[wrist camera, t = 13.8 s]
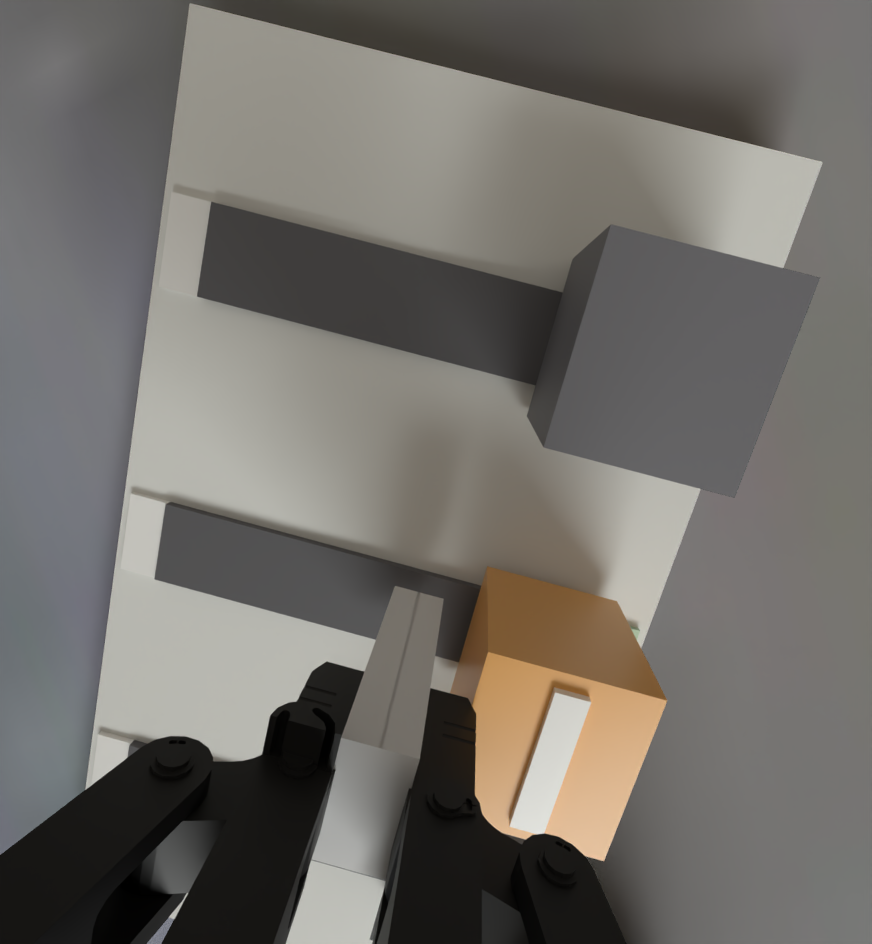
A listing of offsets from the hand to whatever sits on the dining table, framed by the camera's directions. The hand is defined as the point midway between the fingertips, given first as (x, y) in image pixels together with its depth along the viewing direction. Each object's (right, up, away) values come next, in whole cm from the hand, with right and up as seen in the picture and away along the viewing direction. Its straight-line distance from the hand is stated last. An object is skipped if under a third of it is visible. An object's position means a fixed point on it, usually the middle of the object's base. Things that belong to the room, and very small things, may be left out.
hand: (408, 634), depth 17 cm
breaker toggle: (+4, -1, +1) cm, 4 cm away
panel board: (-1, +1, +4) cm, 5 cm away
